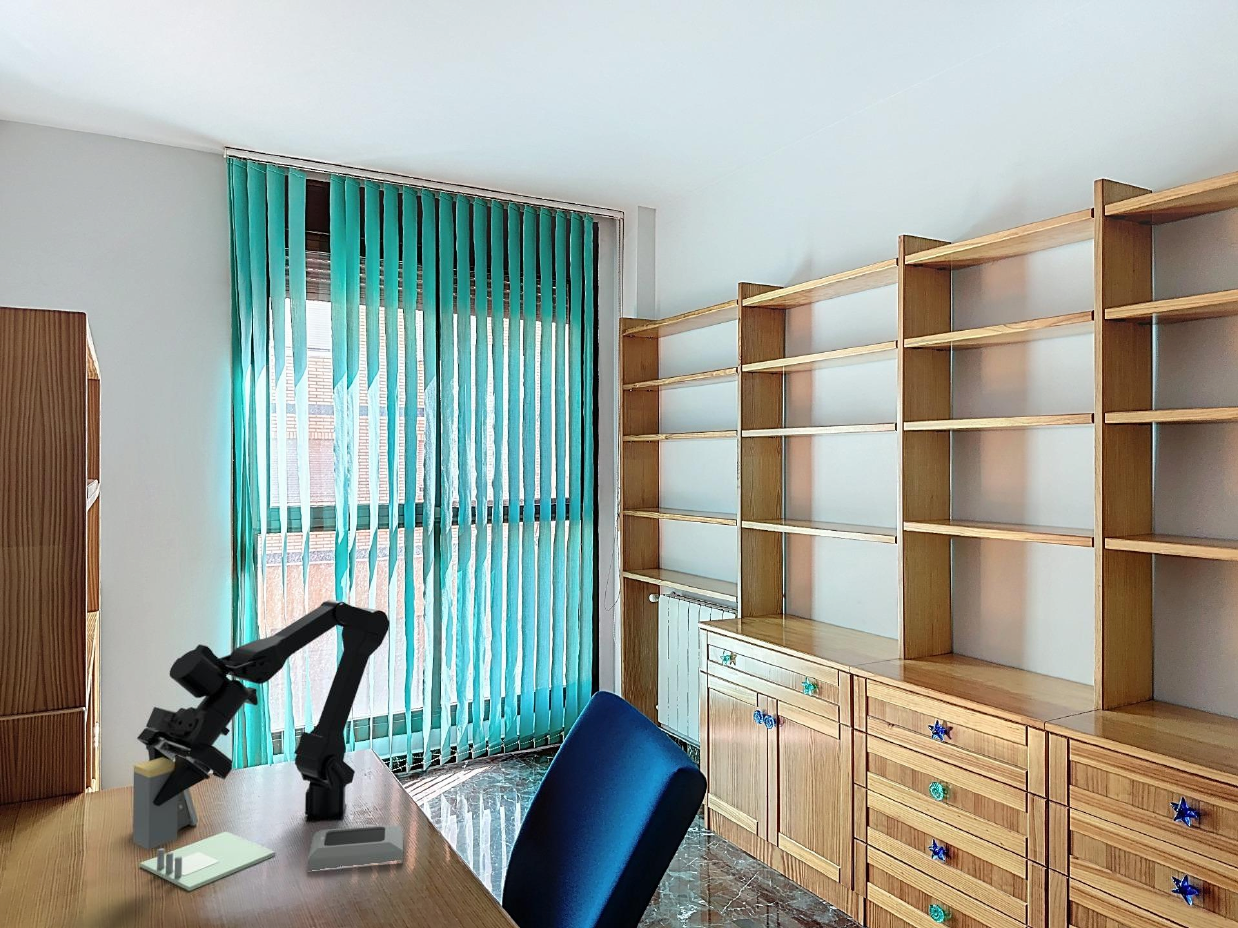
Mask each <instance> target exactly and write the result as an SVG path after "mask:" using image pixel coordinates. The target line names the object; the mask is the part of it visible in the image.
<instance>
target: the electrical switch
mask: <svg viewBox="0 0 1238 928" xmlns="http://www.w3.org/2000/svg"><path fill="white" fill-rule="evenodd" d="M198 822H199V820H198V816H197V813H196V809H195V805H194V802H193V798H192V795H191V792H190V788H188V789H186V790H184V791H183V792H181V793H179V794H178V810H177V831H179V830H180V829H182V828H184V827H186V826H187V825H190V826H192V827H194V826H196V825H197V824H198Z"/></svg>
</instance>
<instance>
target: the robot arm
mask: <svg viewBox="0 0 1238 928" xmlns="http://www.w3.org/2000/svg"><path fill="white" fill-rule="evenodd" d="M336 626H339V627H342V631H341V641H342V647H343V651H342V654H341V657H340V660H339V663H338V666H337V669H336V672H335V674H334V676H333V679H332V682H331V685H330V689H329V692H328V694H327V697H326V700H325V702H324V706H323V708H322V710H321V713H320V717H319V719H318V723H317V724H316V726H315V727H314V728H313V729H312V730H311V731H310V732H307V731H303V732H302V734H301V735H300V738H299V742H298V746H297V748H296V749H295V750H294V752H293V753H294V754H295V758H294V764H295V767H296V768H297V771H298V772H299V773H300V775H301V778H302V780H303V781H307V782H309V784H308V788H307V789H306V791H305V793H304V794H305V798H304V799H305V802H304V803H305V804H304V814H305V816H306V822H320V821H323V822H324V821H338V820H343V819H344V818H345V814H346V809H347V804H346V787H347V785H350V784H351V783H353V781H354V776H355V773H356V772H355V770H354V768H352V767H351V766H350V765H349V764H348V763H346V762H345V761H344V759H345V754H346V750H347V748H346V740H345V733H344V732H345V728H346V725H347V724H348V723H347V722H348V719H349V716H350V714H351V710H352V707H353V706H354V702H355V699H356V697H357V693H358V691H359V687H360V684H361V682H362V678H363V675H364V672H365V669H366V667H367V664H368V661H369V658H370V657H371V655H373V654H374V652H375V651H377V650H378V649H379V647H380V646H381V645H382V644H383V641H384V639H385V638H386V636H387V633H388V631H389V629H390V620H389V618H388V615H387V614H386V612H384V611H383V610H378V609H373V608H368V607H367V608H366V607H360V606H354V605H350V604H348V603H347V602H345V601H340V600H333V599H328V600H325V601H323V602H322V603H321V604H320V605H319V606H318V607H316V608H315V609H313V610H311V611H309V612H308V613H306V614H305V615H303V616H302V617H301V618H298V619H297V620H296V621H294V622H292V623H290V624H289V625H288V626H286V627H284V628H283V629H281V630H280V631H278V632H276V633H275V634H273V635H270V636H267V637H264V638H260V639H255V640H252V641H250V642H247V643H246V644H243V645H240V646H238V647H236V648H235V649H234V650H233V651H232V652H231V653H230V654H228V655H223V656H222V657H218V656H217V655H216V654H215V653H214V652H213V651H212V649H211V648H210V647H209V646H208V645H205V644H198V645H197V646H196V647H195V648H194V649H192V650H190V651H187V652H186V653H184V654H183V655H182V656H180V657H178V658H177V659H176V660H175V661H174V663H173V664H172V665H171V667H170V670H169V677H170V678H171V679H172V680H173V681H175V682H176V683H177V684H178V685H179V686H181V687H182V688H183V689H184V690H185V691H186V692H187V693H189V694H190V695H192V697H193V698H196V699H201V698H203V699H202V700H201V702H200V703H199V704H198V705H197V707H192V706H190V707H188V708H184V707H180V708H179V709H178V710H176V711H173V710H169V709H165V708H160V707H157V706H153V709H152V710H151V713H150V716H149V718H148V720H147V723H146V725H145V727H144V729H143V730H142V731H141V733H139V735H138V736H137V738H136V739H137V740H138V741H139V742H141V744H143V745H144V746H145V750H147V752H148V753H147V754H148V761H151V760H154V759H158V758H161V757H163V758H166V759H169V760H171V761H174V762H175V767H174V770H173V772H172V773H171V775H170V776H169V778H168V779H167V781H166V782H165V784H164V785H163V787H162V788H161V790H160V791H159V793H158V794H157V796H156V798H155V800H154V801H153V804H155V805H156V806H160V805H162V804H163V803H165V802H167V801H168V800H170V799H171V798H173V797H175V796H176V795H178V794H179V793H181V792H183V791H184V790H186V789H188V788H189V789H190V788H191V787H193V786H196V785H197V784H199V783H201V782H202V781H204V780H209V779H211V776H210V775H209V772H210V771H212V775H213V776H214V777H216V778H219V779H222V780H226V779H227V777H228V775H229V774H230V773H231V772H232V770H233V760H232V759H231V758H229V757H228V756H227V755H226V754H225V753H223V752H222V751H221V750H220V749H218V748H217V747H216V746H213V745H214V744H215V742H216V741H217V740H218V739H219V737H220V736H221V735H222V736H227V735H229V733H230V731H231V730H230V729H229V728H228V727H227V726H228V725H229V724H230V723H231V721H232V720H233V719H234V717H235V716H236V714H237V713H238V712H239V711H240V710H241V708H242V706H244V705H245V704H248V705H251V706H258V704H259V700H258V699H259V698H258V696H257V691H258V690H257V688H254V687H251V686H247V687H246V685H245V684H243V683H242V682H241V681H242V680H243V681H245V682H249V683H252V684H256V685H257V684H259V685H261V684H265V683H267V682H269V681H270V680H271V679H273V677H274V676H275V675H276V674H277V673H279V672H280V671H281V670H282V669H283V667H284V666H285V664H286V662H287V660H288V659H289V658H290V657H291V656H292V655H293V654H295V653H297V652H298V651H300V650H301V649H303V648H304V647H306V646H307V645H309V644H310V643H312V642H313V641H315V640H316V639H318V638H319V637H321V636H322V635H324V634H326V633H327V632H328V631H330V630H331V629H334V627H336ZM228 676H230V677H233V678H234V679H230V678H229V677H228ZM240 680H241V681H240Z"/></svg>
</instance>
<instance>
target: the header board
mask: <svg viewBox="0 0 1238 928" xmlns="http://www.w3.org/2000/svg"><path fill="white" fill-rule="evenodd" d="M274 856H276V851H274V850H272V849H269V848H267V847H264V846H263V845H260V844H258V843H255V842H253V841H250V840H247V839H245V838H244V837H243V838H242V837H240V836H238V835H236V834H233V833H231V832H228V831H222V832H220V833H217V834H216V835H212V836H209V837H207V838H204V839H202V840H199V841H196V842H194V843H191V844H188V845H185V846H183V847H179V848H177V849H174V850H172V851H169V852H166V853H165V848H158V849H157V856H155V857H152V858H150V859H147V860H145V861H142V862H140V864H139V866H140V868H142V869H144V870H146V871H149V872H150V873H153V874H155V875H157V876H159V877H161V878H162V879H165V880H167V881H169V882H171V883H172V884H174V885H176V886H179V887H180V888H183V889H185V890H187V891H193V890H194V889H198V888H199V887H202V886H206V885H207V884H209V883H212V882H214V881H216V880H219V879H222V878H224V877H227V876H229V875H231V874H235V872H239V871H241V870H243V869H246V868H249V867H250V866H253V865H255V864H257V863H261V862H262V861H265V860H267V859H270V858H272V857H274Z"/></svg>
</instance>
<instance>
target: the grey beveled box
mask: <svg viewBox="0 0 1238 928" xmlns="http://www.w3.org/2000/svg"><path fill="white" fill-rule="evenodd" d="M395 860H403V861H404V827H403V826H400V825H399V826H398V825H394V824H383V825H382V824H381V825H369V826H355V827H345V828H344V827H343V828H332V829H321V830H319V831H317V832H315V834H314V835H313V837H312V841H311V845H310V849H309V854H308V858H307V862H306V872H307V871H312V870H320V869H325V868H337V867H340V866H341V867H342V866H353V865H364V864H370V863H382V862H386V861H395Z"/></svg>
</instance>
